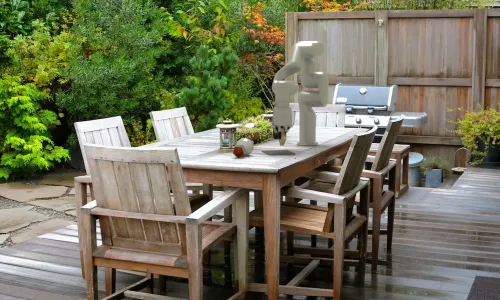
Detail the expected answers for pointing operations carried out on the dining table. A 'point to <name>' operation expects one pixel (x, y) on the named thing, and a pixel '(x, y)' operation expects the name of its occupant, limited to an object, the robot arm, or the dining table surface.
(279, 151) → the mat
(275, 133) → the coffee mug
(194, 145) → the dining table surface
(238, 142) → the potion bottle
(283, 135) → the oak slab
